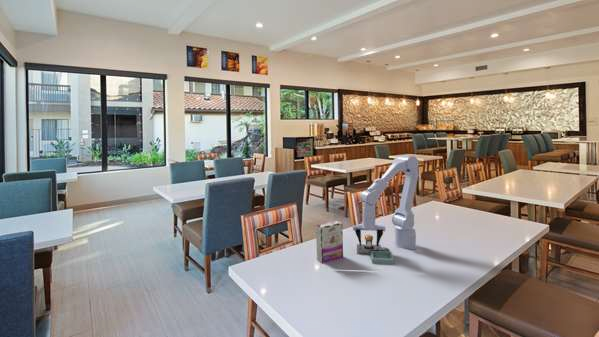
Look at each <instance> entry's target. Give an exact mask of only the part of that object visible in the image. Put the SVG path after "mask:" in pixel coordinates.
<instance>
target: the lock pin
mask: <svg viewBox="0 0 599 337" xmlns="http://www.w3.org/2000/svg"><path fill="white" fill-rule="evenodd" d="M364 240H365V245H366V249H372V245H373V240H374V236H373V235H371V234H367V235H364Z"/></svg>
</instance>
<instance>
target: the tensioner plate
mask: <svg viewBox="0 0 599 337" xmlns="http://www.w3.org/2000/svg"><path fill="white" fill-rule="evenodd" d="M371 251H388V252H391V250H390V249H389V248H387V247H384V246H383V247H382V244H379V245H378V247H377V245H376V244H372V249H366V244H362V243H361V246H360V244H359V243H357V244H356V255H371Z"/></svg>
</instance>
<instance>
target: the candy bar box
mask: <svg viewBox="0 0 599 337" xmlns="http://www.w3.org/2000/svg"><path fill="white" fill-rule="evenodd" d="M315 240H316V243H315V244H316V260H317V262H319V263H321V264H324V263H326V262H327V263H328V262H331V261H334V260H338V259H342V258H344V243H343V242H344V241H343V222H341V221H338V220H334V221H328V222H323V223H318V224H316V225H315Z"/></svg>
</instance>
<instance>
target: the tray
mask: <svg viewBox="0 0 599 337" xmlns="http://www.w3.org/2000/svg"><path fill="white" fill-rule="evenodd" d="M375 256H376V257H377V256H378V257H379V256H380V258H375ZM381 257H389V258H381ZM370 261H371V264H384V265H385V264H387V265H394V263H395V259H394V256H393V253H392V251H390V252H388V251H371V254H370Z"/></svg>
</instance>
